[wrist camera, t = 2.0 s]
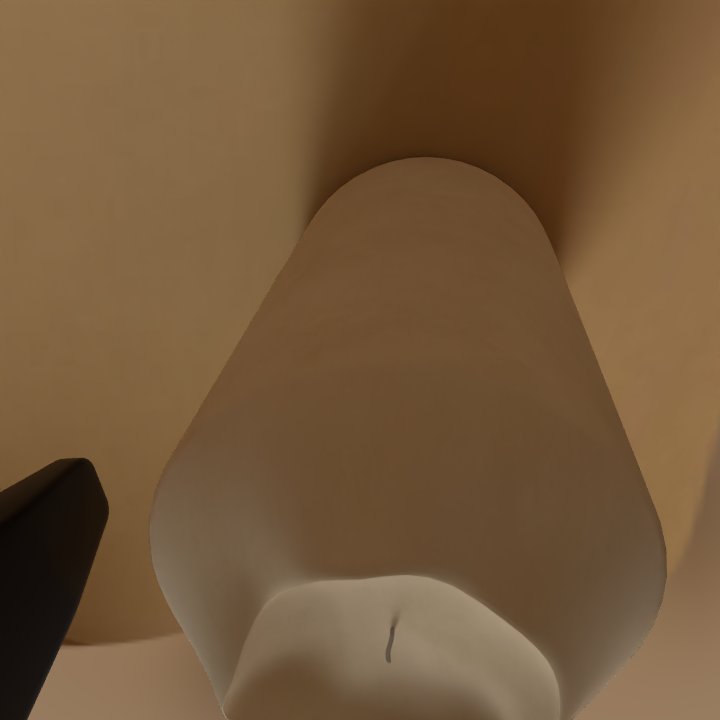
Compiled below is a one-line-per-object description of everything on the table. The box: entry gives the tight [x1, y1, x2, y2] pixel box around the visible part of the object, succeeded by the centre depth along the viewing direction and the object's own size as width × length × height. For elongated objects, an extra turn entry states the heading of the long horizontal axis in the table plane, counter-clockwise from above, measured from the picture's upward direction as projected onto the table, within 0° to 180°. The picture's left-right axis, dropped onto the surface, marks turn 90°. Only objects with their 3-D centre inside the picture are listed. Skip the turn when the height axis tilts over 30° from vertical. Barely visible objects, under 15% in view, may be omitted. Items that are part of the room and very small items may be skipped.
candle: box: [149, 157, 667, 720], centre depth 10 cm, size 6×6×10 cm
